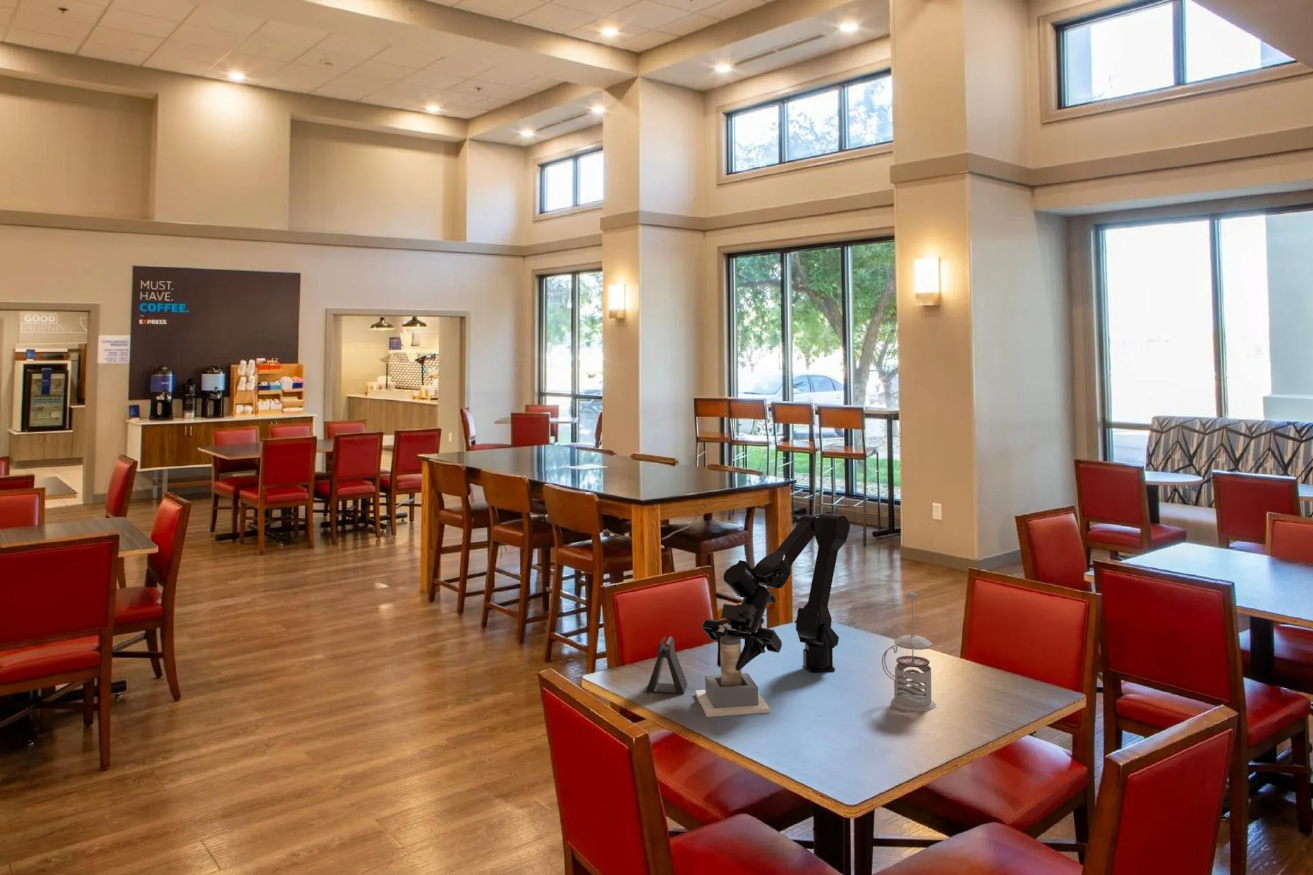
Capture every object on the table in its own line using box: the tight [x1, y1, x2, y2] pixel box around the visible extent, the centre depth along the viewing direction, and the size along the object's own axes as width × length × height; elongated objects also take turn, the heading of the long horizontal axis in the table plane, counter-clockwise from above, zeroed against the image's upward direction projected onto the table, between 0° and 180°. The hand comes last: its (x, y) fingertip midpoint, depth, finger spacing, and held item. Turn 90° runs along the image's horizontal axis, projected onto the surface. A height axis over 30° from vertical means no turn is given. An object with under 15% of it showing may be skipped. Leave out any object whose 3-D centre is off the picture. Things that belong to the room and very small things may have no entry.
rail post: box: [720, 636, 742, 687], centre depth 191 cm, size 5×5×13 cm
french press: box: [881, 592, 937, 712], centre depth 189 cm, size 10×12×25 cm
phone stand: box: [645, 635, 688, 695], centre depth 201 cm, size 9×6×12 cm, turn 79°
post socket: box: [694, 672, 771, 718], centre depth 191 cm, size 14×14×5 cm
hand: (727, 667), depth 190 cm, fingers closed on rail post, 4 cm apart
